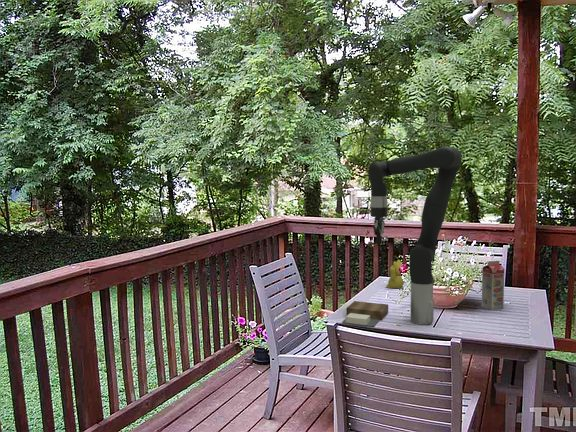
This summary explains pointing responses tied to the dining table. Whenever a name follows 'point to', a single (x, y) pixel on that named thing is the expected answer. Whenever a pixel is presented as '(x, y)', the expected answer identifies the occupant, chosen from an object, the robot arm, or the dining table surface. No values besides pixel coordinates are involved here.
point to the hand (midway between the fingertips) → (379, 244)
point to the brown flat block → (368, 309)
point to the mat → (370, 324)
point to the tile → (358, 319)
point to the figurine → (395, 276)
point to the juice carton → (493, 285)
